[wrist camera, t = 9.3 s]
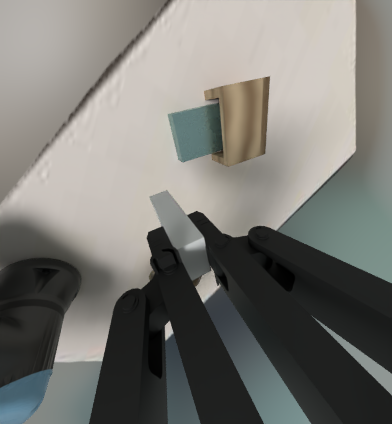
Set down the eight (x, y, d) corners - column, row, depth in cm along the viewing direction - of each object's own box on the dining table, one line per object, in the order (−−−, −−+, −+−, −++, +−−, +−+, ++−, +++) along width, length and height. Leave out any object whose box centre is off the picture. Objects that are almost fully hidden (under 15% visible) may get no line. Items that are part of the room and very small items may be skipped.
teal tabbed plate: (178, 159, 37) (182, 162, 35) (167, 114, 32) (171, 114, 30) (230, 143, 41) (237, 145, 38) (227, 100, 36) (236, 99, 33)
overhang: (212, 159, 41) (228, 166, 35) (204, 91, 33) (222, 86, 27) (245, 149, 43) (265, 153, 38) (245, 82, 35) (269, 76, 30)
